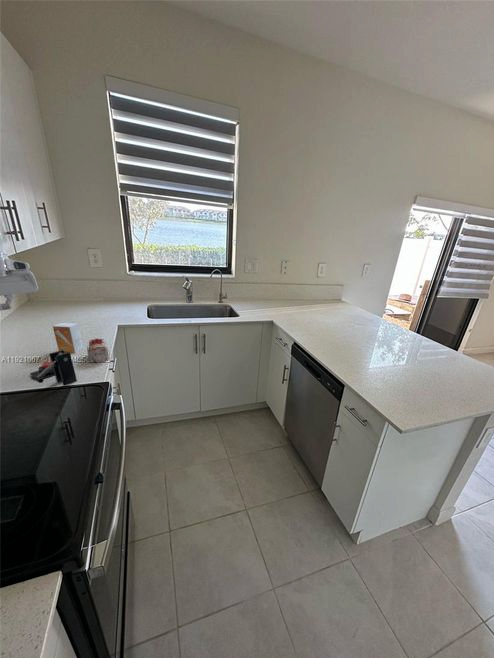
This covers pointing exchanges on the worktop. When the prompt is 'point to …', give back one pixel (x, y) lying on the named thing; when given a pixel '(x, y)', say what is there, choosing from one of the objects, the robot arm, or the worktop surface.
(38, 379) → the lever
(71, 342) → the small box
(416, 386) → the worktop surface
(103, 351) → the food item
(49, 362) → the button
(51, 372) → the control block
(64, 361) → the bracket
